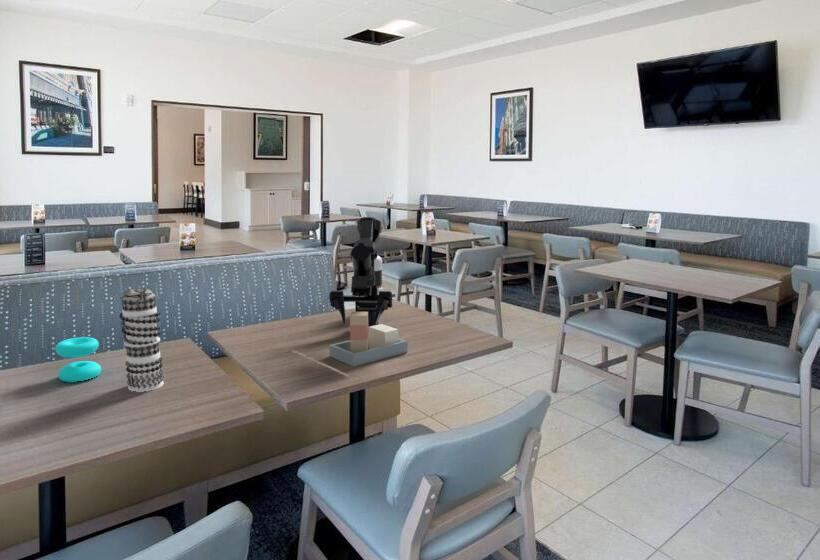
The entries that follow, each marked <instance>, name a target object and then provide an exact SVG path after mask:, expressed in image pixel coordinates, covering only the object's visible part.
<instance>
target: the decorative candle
mask: <svg viewBox="0 0 820 560" xmlns="http://www.w3.org/2000/svg"><path fill="white" fill-rule="evenodd" d="M119 299H121V304H122V305H121V306H122V309H121V313H120V314H119V316H118V317H119V318H120V320H121V322H120V327H121V329H120V330H121V332H122V334H123V335H122V340H123V345H124V346H125V348H126V349H125V350H126V357H125V358H126V361H125V366H126V368H125V370H126V372H127V374H126V375H125V377H126V379H127V381H126V384H127V385H128V387H127V390H128V389H129V390H128V391H130V390H131V391H130V392H133V391H136V392H135V393H144V391H146V392H151V390H152V391H154V390H158V389H160V388H162V387H163V386H164V384H165V383H164V369H162V368H163V363H162V361H163V358H162V356H161V350H160V346H159V343H160V342H161V337H160V335H161V332H160V331H159V330H160V329H161V325H159V324H157V323H158V322H160V321H161V318H159V316H161V312H159V311H158V310H157V305H156V294H155V293H153V291H152V290H150V289H148V288H140V287H139V288H131V289H128V290H126V291H124V293H123V295H122V296H121V297H120V298H119Z"/></svg>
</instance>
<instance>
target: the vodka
mask: <svg viewBox="0 0 820 560" xmlns="http://www.w3.org/2000/svg"><path fill="white" fill-rule="evenodd" d="M374 275H375V285H376V287H377V289H378V295H379V291H383V287H382V286H383V259H382V257H381V256H380V255H378V257H377V258H376V260H375V265H374ZM376 307H377V306H376Z"/></svg>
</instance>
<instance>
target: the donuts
mask: <svg viewBox="0 0 820 560" xmlns="http://www.w3.org/2000/svg"><path fill="white" fill-rule="evenodd" d="M99 346H100V342H99V341H98V340H97V339H96V338H94V337H90V336H79V337H72V338H67V339H65V340H61V341H59V342H58V343H57V344H56V345H55V347H54V349H55V352H56V354H57V355H58V356H60V357H63V358H81V357H86V356H89V355H92V354H93V353H94V352H96V351H97V349H98V348H99ZM101 373H102V366H101V365H100V364H99V363H98V362H95V361H91V360H81V361H80V360H79V361H73V362H70V363H68V364H66V365H64V366H62V367H61V368H60V369H59V371H58V374H57V375H58V379H59V380H60V381H62V382H65V381H66V383H78V382H77V381H82V382H85V381H84V380H87V381H89V380H88V379H90V380H92V379H91V378H93V379H95V378H96V376H97V377H98V376H99V375H100V374H101ZM94 377H95V378H94Z"/></svg>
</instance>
